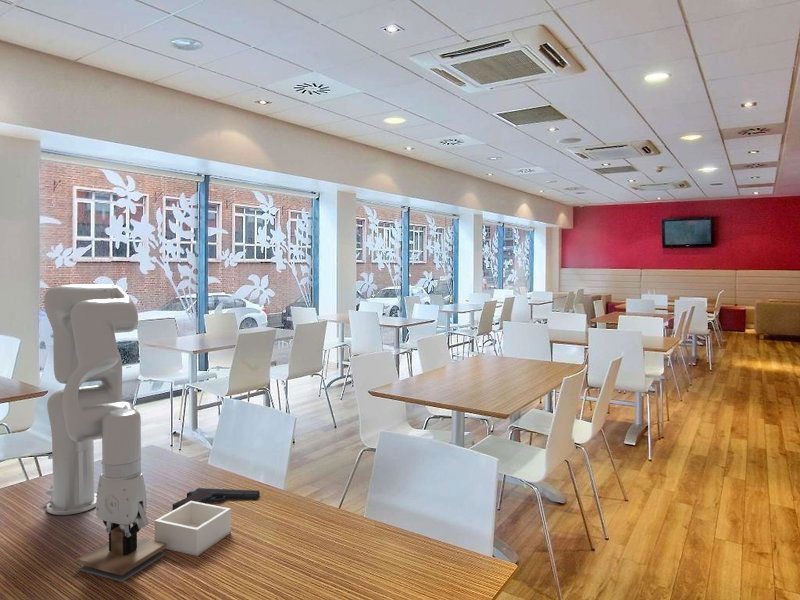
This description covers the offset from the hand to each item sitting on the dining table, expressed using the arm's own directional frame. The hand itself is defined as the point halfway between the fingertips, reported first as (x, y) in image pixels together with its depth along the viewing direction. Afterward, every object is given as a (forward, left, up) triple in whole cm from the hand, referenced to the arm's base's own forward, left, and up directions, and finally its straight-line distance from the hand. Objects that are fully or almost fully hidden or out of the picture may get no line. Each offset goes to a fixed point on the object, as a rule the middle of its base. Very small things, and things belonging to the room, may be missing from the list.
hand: (123, 549), depth 123 cm
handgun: (-1, +33, -4) cm, 33 cm away
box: (+7, +14, -3) cm, 16 cm away
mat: (0, 0, -3) cm, 3 cm away
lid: (0, 0, -1) cm, 1 cm away
